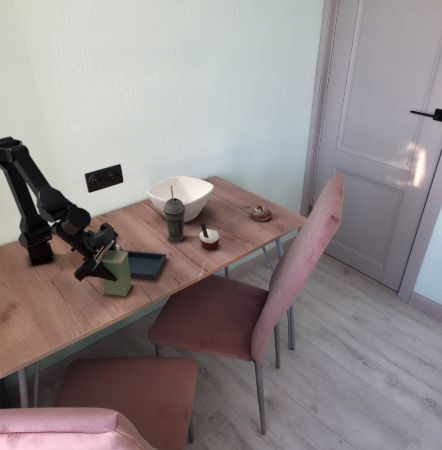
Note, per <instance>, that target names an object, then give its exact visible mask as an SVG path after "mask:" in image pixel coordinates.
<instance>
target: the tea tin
mask: <svg viewBox="0 0 442 450" xmlns="http://www.w3.org/2000/svg"><path fill="white" fill-rule="evenodd" d="M102 254H103V253H102ZM101 260H102V261H103V264H104V267H106V268H107V269H108V270H109V271H110V272H111V273H112V274H113V275H114V276H115V277H116V278H117V281H110V280H106V279H103V284H104V290H105V295H114V296H123V297H127V295H128V294H129V291H130V290H131V287H132V285H133V283H132V278H131V276H130V269H129V261H128V252H125V251H120V250H117V251H113V250H106V252H105V253H104V254H103V256H102V255H101V257H99V262H100V261H101Z"/></svg>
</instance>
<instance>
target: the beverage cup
mask: <svg viewBox="0 0 442 450" xmlns="http://www.w3.org/2000/svg"><path fill="white" fill-rule="evenodd" d="M171 194H172V198H171V199H169V200H168V201H167V202H166V203H165V205H164V214H165V216H164V217H165V220H166V226H167V231H168V232H167V233H168V237H169V240H170V241H171V242H175V243H176V242H181V241H182V240H183V239H184V228H185V227H184V226H185V225H184V224H185V222H184V213H185V207H184V204H183V203H182V201H181V200H179V199H177V198H173V190H172V185H171ZM164 214H163V215H164Z"/></svg>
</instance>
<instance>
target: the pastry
mask: <svg viewBox="0 0 442 450" xmlns="http://www.w3.org/2000/svg"><path fill="white" fill-rule="evenodd" d="M250 217H251V219H253V220H254V221H257V222H267V221H269V220H270V219H271V218H272V211H271V210H270V209H269V208H267V207H264V206H263V205H260V204H257V205H256V207H254V209H253V210H252V212H251V213H250Z"/></svg>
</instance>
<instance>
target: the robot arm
mask: <svg viewBox="0 0 442 450" xmlns="http://www.w3.org/2000/svg"><path fill="white" fill-rule="evenodd" d="M0 171H2V172H3V175H4V177H5V179H6V182H7V185H8V188H9V189H10V192H11V195H12V197H13V200H14V202H15V205H16V207H17V210H18V212H19V215H20V220H19V225H18V227H19V231H20V235H18V239H17V241H18V242H19V244H20V246H21V247H22V248H24V249H25V250H27V254H28V257H29V260H30V265H31V266H36V265H40V264H45V263H49V262H53V260H54V259H53V257H54V252H53V249H52V244H51V242H50V241H53V236H56V237H59V238H60V240H62V241H64V242H65V243H66V244H67V245H68V246H69V247H71V248H70V251H71V252H72V253H74V252H75V251H76V252H77V253H78V254H79V255H80V256H82V257H83V258H82V263H81V264H80V265H79V266H78V267H77V268H76V269H75V271H74V272H73V276H74V278H75V279H76V280H77V281H78V282H80V283H81V282H82V281H83V280H84V279H86V278H89V277H91V278H98V279H101V280H102V279H103V280H104V279H106V280H110V281H117V278H116V277H115V276H114V275H113V274H112V273H111V272H110V271H109V270H108V269H107V268H106V267H104V264H103V261H102V260H101V261H100V260H99V258H100V256H101V257H102V256H103V254H104V253H105V252H106V250H113V251H118V250H117V249H116V244H117V243H118V241H117V240H116V239H117V238H118V236H119V233H118V232H117V231H115V227H113V226H112V225H111V224H110V223H108V222H107V221H106V222H103V223H101V224H100V226H99V229H98V230H97V231H96V232H94V231H93V230H90V229H88V230H86V229H87V228H88V227H89V226H90V224H91V222H92V218H91V217H92V216H91V214H90V212H89V211H88V210H87V209H86V208H84V207H79V206H78V205H77V204H76V203H73V202H72V201H71V200H69V199H68V198H67V197H66V196H65V195H64V194H63V192H62V191H61V190H59V189H57V188H55V187H53V186H52V185H51V184H50V183H49V181H48V180H47V178H46V177H45V175H44V174H43V172H42V171H41V169H40V168H39V166H38V165H37V163H36V162H35V160H34V159H33V158H32V156H31V154H30V150H29V148H28V147H27V146H26V145H25V144H24V143H23V140H20V139H17V138H14V137H12V136H11V135H10V136H5V137H1V138H0ZM30 190H31V192H32V193H33V195H34V196H35V198H36V205H35V202H34V199H33V196H32V195H31V192H30ZM49 223H51V225H50V224H49ZM113 240H114V241H113ZM112 241H113V242H114V243H113V242H112ZM98 260H99V261H98Z"/></svg>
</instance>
